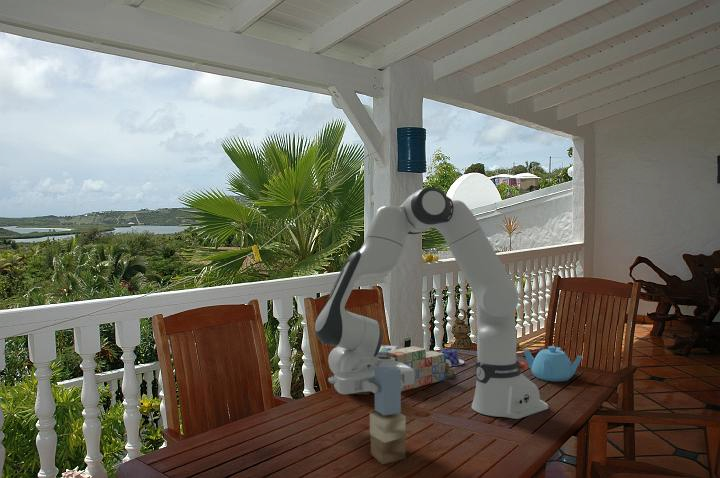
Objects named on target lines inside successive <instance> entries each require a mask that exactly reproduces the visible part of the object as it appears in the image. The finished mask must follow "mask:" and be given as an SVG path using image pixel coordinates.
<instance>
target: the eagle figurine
mask: <svg viewBox="0 0 720 478" xmlns="http://www.w3.org/2000/svg"><path fill="white" fill-rule="evenodd" d="M455 376H456V374H455V372H454V370H453V369H452V366H451V362H450V360H448V359H446V363H445V380H451V379H454V378H455Z"/></svg>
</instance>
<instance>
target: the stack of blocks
mask: <svg viewBox="0 0 720 478" xmlns="http://www.w3.org/2000/svg"><path fill="white" fill-rule="evenodd" d="M426 350H427V349H426V348H423V347H419V346H414V345H413V346H409V347H408V346H407V347H401V348H398V349H397V350H392V351H387V352H386V357H392V358H395V361H396V362H401V363H403V364H405V365H407V366H409V367H411V368H412V369H413V370H414V374H415V380H414V383H413V384H411V385H404V386H403V389H401V392H404V391H409V390H412V389H416V388H420V387H423V386H427V385H430V384H434V383H438V382H443V381H445V380H446V379H445V354H443V353H441V351H439V352H438V351H435V350H429V351H426Z"/></svg>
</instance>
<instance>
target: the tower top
mask: <svg viewBox="0 0 720 478" xmlns="http://www.w3.org/2000/svg"><path fill="white" fill-rule="evenodd" d="M406 422H407V419H406V415H405V414H403V413H402V412H401V413H396V414H390V415H384V416H383V415H382V414H380V413H379V412H377V411H374V412H370V413H369V435H370V436H371V435H372V436H374V437H375V438H377V439H379V440H380V441H382V442H384V443H386V442H390V441H393V440H397V439H401V438H405V439H406V438H407V437H406V431H407V427H406V425H407V424H406Z"/></svg>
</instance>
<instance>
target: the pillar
mask: <svg viewBox="0 0 720 478" xmlns="http://www.w3.org/2000/svg"><path fill="white" fill-rule="evenodd" d="M374 375H375V383H378V384H379V385H380V392H378V393H374V411H375V412H379V413H380V414H382V415H383V416H384V415H390V414H396V413H401V414H402V401H401V398H402V397H401V396H402V391H401V370H400V369H398V368H396V367H394V366H392V365H390V366H382V367H375V368H374Z"/></svg>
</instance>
